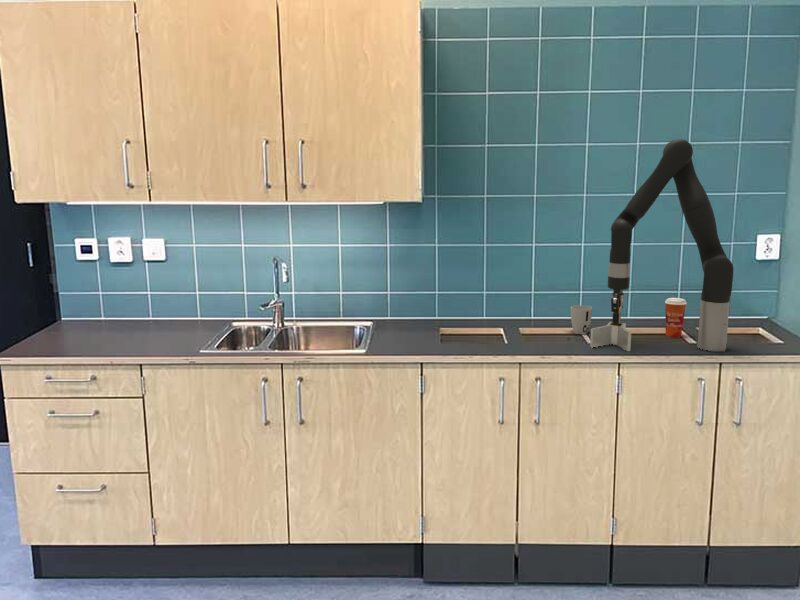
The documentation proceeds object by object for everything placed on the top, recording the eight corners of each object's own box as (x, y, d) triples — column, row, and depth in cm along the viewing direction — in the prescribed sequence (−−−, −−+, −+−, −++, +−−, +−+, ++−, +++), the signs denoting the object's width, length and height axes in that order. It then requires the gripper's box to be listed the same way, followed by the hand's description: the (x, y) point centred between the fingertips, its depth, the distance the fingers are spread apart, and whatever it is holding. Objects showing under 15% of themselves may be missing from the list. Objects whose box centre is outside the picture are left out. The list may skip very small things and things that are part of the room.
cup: (586, 336, 273) (587, 310, 272) (566, 333, 278) (567, 307, 276) (594, 332, 280) (595, 306, 278) (574, 329, 285) (575, 304, 283)
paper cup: (661, 336, 272) (663, 300, 269) (664, 332, 279) (666, 296, 276) (683, 338, 268) (685, 302, 266) (685, 334, 275) (688, 298, 273)
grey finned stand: (636, 343, 262) (637, 324, 261) (629, 352, 250) (631, 332, 248) (597, 339, 268) (598, 320, 267) (589, 348, 256) (590, 328, 254)
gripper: (626, 278, 250) (623, 327, 254) (632, 273, 263) (630, 319, 266) (604, 277, 254) (602, 325, 257) (611, 271, 266) (609, 317, 269)
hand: (616, 322), depth 261 cm, fingers open, 3 cm apart
